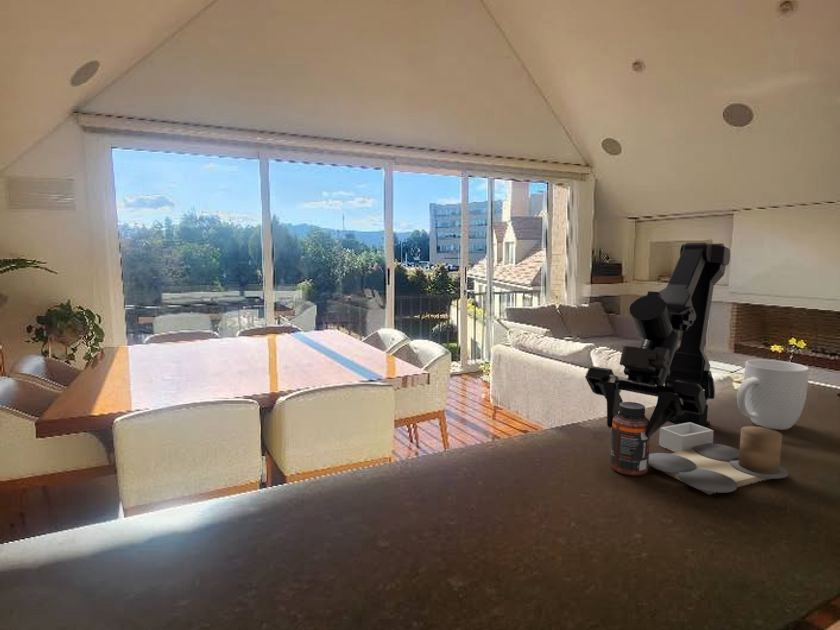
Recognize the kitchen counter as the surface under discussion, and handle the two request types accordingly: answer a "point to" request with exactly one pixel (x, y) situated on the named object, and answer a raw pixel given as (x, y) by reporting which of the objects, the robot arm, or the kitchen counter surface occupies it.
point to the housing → (684, 436)
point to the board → (726, 462)
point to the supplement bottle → (630, 440)
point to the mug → (773, 392)
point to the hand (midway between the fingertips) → (627, 431)
